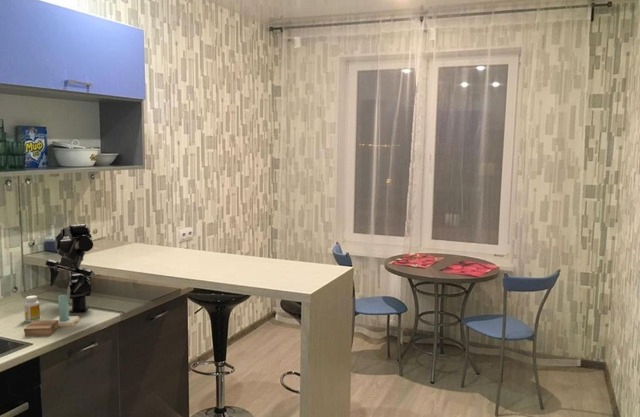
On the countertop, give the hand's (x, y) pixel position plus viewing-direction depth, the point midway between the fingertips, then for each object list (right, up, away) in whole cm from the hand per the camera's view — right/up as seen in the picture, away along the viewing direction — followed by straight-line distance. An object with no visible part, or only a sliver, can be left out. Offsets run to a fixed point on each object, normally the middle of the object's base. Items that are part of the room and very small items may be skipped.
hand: (62, 289), depth 219 cm
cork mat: (+2, -13, -2) cm, 14 cm away
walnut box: (-2, -15, -12) cm, 19 cm away
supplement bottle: (-13, -13, +2) cm, 18 cm away
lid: (+2, -13, -1) cm, 13 cm away
